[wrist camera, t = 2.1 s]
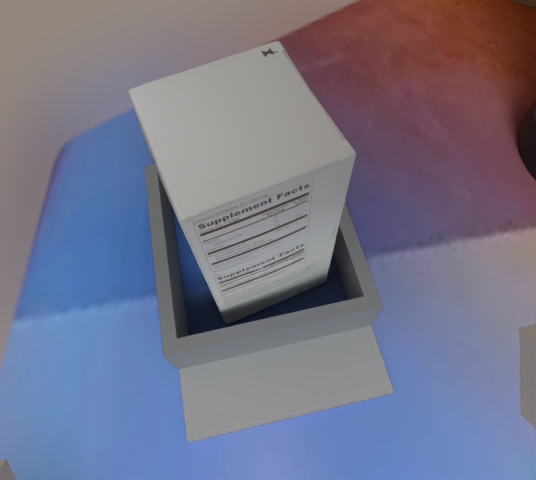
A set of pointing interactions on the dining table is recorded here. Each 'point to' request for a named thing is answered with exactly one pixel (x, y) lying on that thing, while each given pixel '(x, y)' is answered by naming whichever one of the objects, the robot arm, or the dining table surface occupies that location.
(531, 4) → the cake
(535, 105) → the robot arm
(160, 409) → the dining table surface
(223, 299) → the supplement box
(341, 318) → the grey open box
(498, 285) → the dining table surface
